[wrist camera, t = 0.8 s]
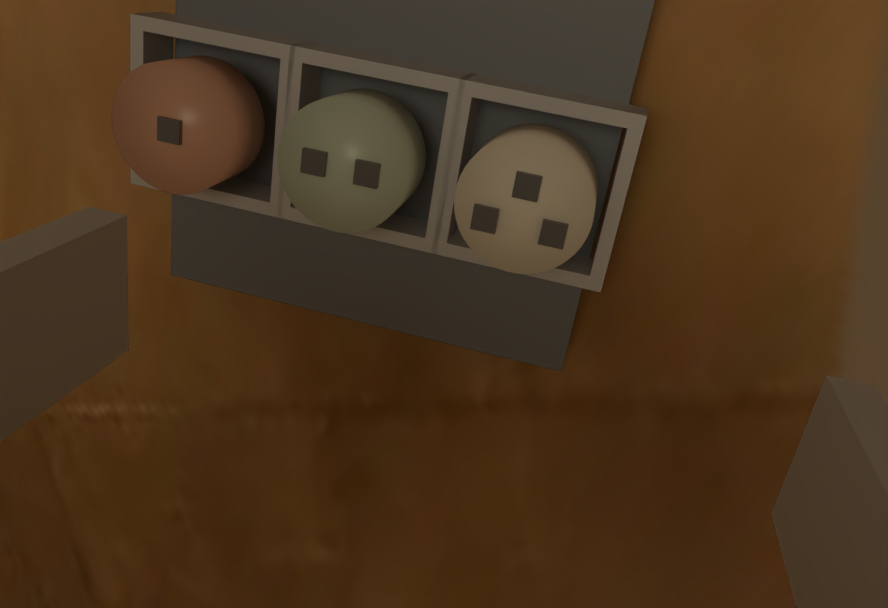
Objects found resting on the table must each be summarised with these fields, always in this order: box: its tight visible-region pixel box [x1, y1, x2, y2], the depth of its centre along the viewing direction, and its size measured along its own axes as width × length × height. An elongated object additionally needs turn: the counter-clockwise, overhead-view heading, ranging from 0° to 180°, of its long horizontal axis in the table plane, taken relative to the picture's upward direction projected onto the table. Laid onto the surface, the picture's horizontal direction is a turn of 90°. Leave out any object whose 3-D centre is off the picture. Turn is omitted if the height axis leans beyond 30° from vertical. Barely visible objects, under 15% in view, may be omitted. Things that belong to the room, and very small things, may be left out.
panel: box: [130, 0, 655, 372], centre depth 29 cm, size 18×15×4 cm
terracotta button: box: [112, 55, 265, 195], centre depth 27 cm, size 4×4×3 cm
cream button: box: [454, 124, 598, 274], centre depth 25 cm, size 4×4×3 cm
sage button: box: [278, 88, 426, 233], centre depth 26 cm, size 4×4×3 cm
